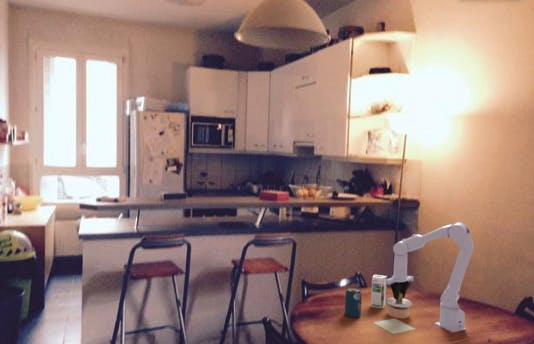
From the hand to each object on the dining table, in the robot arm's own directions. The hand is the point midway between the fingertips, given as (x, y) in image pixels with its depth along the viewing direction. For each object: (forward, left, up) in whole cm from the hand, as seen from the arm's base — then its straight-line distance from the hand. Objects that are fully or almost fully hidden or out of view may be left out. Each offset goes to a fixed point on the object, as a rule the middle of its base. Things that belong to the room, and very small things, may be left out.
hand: (398, 298), depth 193 cm
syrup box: (+12, +1, -8) cm, 14 cm away
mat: (-9, +11, -8) cm, 16 cm away
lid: (0, 0, -2) cm, 2 cm away
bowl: (0, 0, -8) cm, 8 cm away
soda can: (+7, +20, -8) cm, 23 cm away
